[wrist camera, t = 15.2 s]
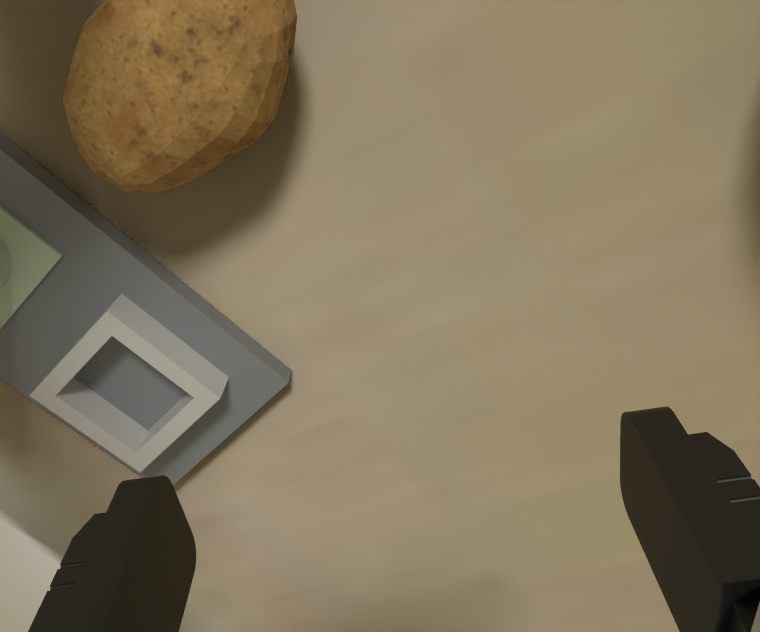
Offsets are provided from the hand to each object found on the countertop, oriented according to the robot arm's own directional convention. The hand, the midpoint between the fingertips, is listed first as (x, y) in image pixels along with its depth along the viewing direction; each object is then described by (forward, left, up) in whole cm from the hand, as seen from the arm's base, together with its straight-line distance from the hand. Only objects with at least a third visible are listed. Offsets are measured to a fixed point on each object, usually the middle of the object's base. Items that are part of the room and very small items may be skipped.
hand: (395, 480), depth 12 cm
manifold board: (-6, -24, -31) cm, 40 cm away
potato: (-10, -5, -32) cm, 34 cm away
